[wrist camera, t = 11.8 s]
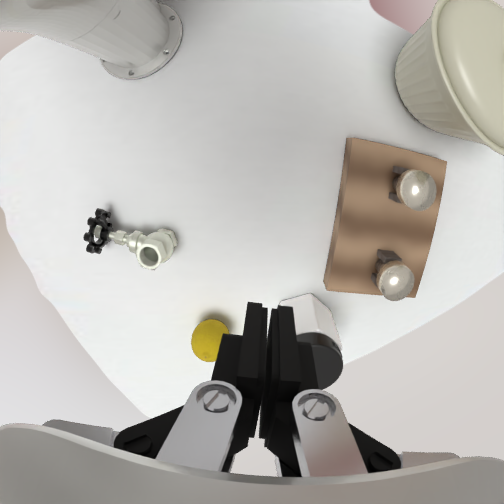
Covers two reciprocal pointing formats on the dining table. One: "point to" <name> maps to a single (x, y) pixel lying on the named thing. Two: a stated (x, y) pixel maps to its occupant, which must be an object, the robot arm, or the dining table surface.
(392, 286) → the knob
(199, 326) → the lemon
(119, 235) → the valve
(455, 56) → the canister
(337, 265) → the mount board
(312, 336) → the jar
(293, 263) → the dining table surface
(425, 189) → the knob
